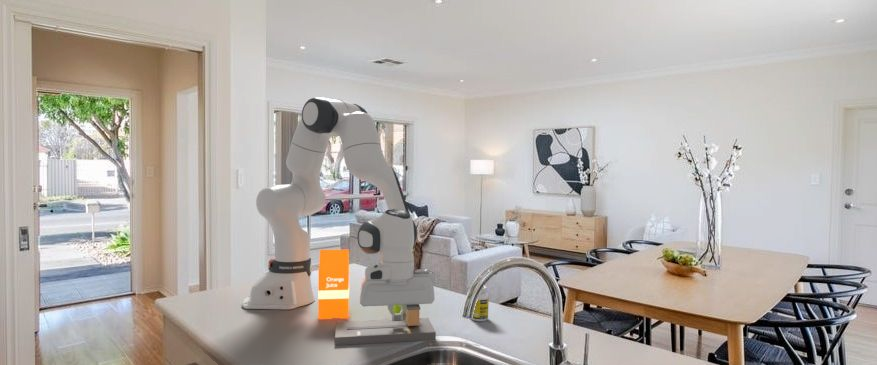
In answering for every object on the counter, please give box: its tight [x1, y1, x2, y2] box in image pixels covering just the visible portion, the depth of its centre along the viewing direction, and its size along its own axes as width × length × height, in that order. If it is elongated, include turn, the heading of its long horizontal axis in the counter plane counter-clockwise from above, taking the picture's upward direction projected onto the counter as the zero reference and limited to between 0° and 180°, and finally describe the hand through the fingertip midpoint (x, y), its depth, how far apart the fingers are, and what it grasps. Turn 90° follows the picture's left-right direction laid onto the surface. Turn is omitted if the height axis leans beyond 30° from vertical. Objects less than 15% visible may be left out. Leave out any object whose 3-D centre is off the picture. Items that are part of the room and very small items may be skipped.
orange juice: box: [317, 248, 350, 320], centre depth 146 cm, size 8×9×20 cm
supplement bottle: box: [471, 285, 490, 322], centre depth 145 cm, size 5×5×10 cm
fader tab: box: [405, 304, 421, 326], centre depth 132 cm, size 3×5×5 cm, turn 10°
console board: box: [334, 317, 437, 346], centre depth 131 cm, size 26×12×2 cm, turn 100°
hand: (397, 320), depth 131 cm, fingers closed
